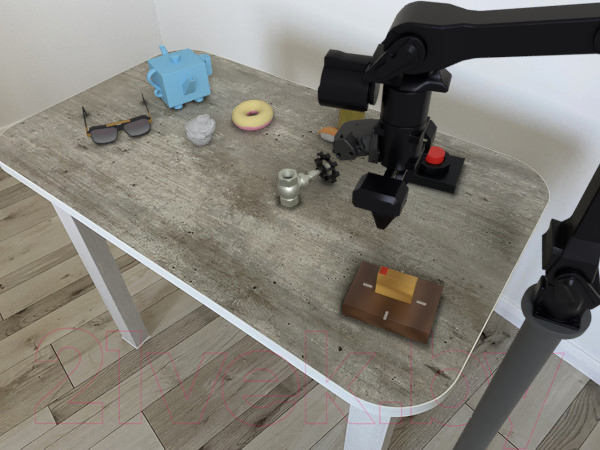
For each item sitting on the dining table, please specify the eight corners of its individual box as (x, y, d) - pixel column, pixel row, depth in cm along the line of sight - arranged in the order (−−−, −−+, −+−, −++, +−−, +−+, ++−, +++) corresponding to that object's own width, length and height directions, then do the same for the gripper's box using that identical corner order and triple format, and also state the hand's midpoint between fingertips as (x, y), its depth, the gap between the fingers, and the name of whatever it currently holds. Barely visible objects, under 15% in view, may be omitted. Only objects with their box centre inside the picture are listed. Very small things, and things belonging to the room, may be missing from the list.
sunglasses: (144, 101, 118) (139, 83, 115) (156, 134, 108) (150, 115, 105) (85, 114, 115) (78, 96, 111) (92, 150, 105) (84, 130, 101)
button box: (463, 166, 98) (467, 150, 95) (453, 194, 92) (458, 178, 89) (409, 154, 101) (412, 138, 98) (397, 179, 96) (400, 163, 93)
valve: (291, 215, 89) (339, 187, 94) (289, 188, 84) (340, 160, 90) (270, 196, 93) (317, 171, 98) (267, 170, 88) (318, 144, 93)
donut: (277, 121, 115) (242, 109, 116) (280, 103, 112) (244, 91, 113) (261, 139, 107) (223, 126, 108) (264, 120, 104) (225, 107, 106)
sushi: (341, 146, 104) (341, 135, 101) (314, 138, 106) (314, 127, 104) (346, 140, 105) (347, 128, 103) (320, 132, 107) (320, 120, 105)
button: (445, 155, 95) (447, 148, 94) (441, 166, 92) (442, 159, 91) (427, 151, 96) (428, 144, 95) (422, 161, 94) (424, 154, 92)
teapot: (168, 123, 111) (156, 79, 103) (140, 90, 122) (128, 47, 114) (229, 102, 117) (222, 58, 109) (198, 72, 128) (190, 30, 120)
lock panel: (440, 295, 76) (444, 283, 74) (425, 346, 70) (429, 334, 67) (362, 270, 80) (363, 258, 77) (341, 316, 74) (342, 304, 71)
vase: (351, 126, 109) (355, 67, 99) (370, 139, 105) (376, 79, 95) (331, 136, 106) (332, 77, 96) (349, 149, 103) (353, 89, 93)
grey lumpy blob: (216, 152, 103) (211, 125, 98) (184, 151, 104) (177, 124, 99) (221, 136, 107) (217, 108, 102) (191, 135, 108) (185, 107, 103)
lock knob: (413, 296, 72) (418, 276, 69) (410, 304, 71) (415, 284, 68) (378, 284, 74) (381, 264, 70) (374, 292, 73) (377, 272, 69)
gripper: (366, 69, 67) (360, 158, 79) (312, 141, 56) (314, 234, 67) (446, 83, 64) (428, 174, 75) (406, 165, 52) (391, 258, 63)
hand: (390, 207), depth 70 cm, fingers open, 9 cm apart
